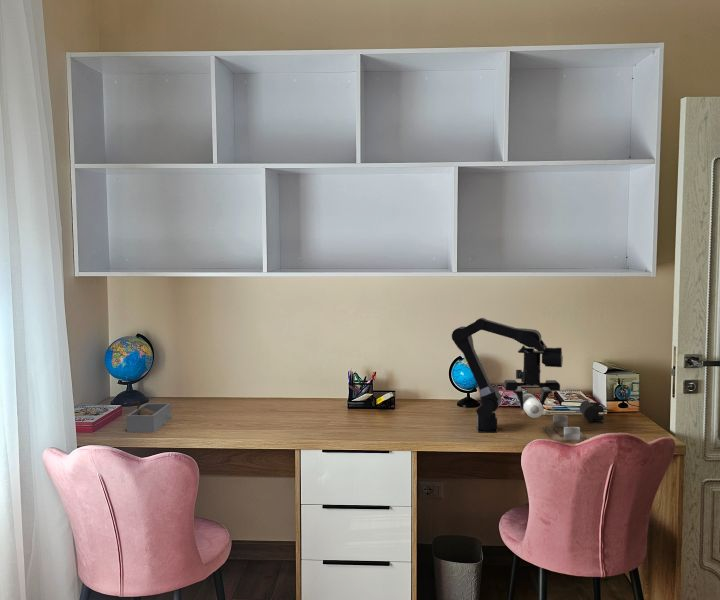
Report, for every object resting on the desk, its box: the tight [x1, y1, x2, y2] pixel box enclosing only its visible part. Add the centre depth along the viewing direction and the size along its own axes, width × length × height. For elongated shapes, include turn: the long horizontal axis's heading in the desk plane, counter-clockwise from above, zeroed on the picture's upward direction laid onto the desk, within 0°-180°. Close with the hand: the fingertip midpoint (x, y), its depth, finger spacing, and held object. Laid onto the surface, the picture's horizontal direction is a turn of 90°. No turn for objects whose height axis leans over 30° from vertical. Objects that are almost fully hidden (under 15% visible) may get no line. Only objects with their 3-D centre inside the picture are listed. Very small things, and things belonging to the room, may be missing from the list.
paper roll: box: [523, 392, 544, 419], centre depth 248 cm, size 6×12×6 cm, turn 177°
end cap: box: [579, 400, 605, 424], centre depth 269 cm, size 10×7×7 cm
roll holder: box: [544, 414, 588, 444], centre depth 247 cm, size 11×18×5 cm, turn 177°
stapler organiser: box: [125, 402, 172, 433], centre depth 264 cm, size 10×20×6 cm, turn 177°
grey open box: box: [128, 400, 165, 426], centre depth 264 cm, size 14×4×9 cm, turn 75°
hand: (531, 409), depth 248 cm, fingers closed on paper roll, 6 cm apart
